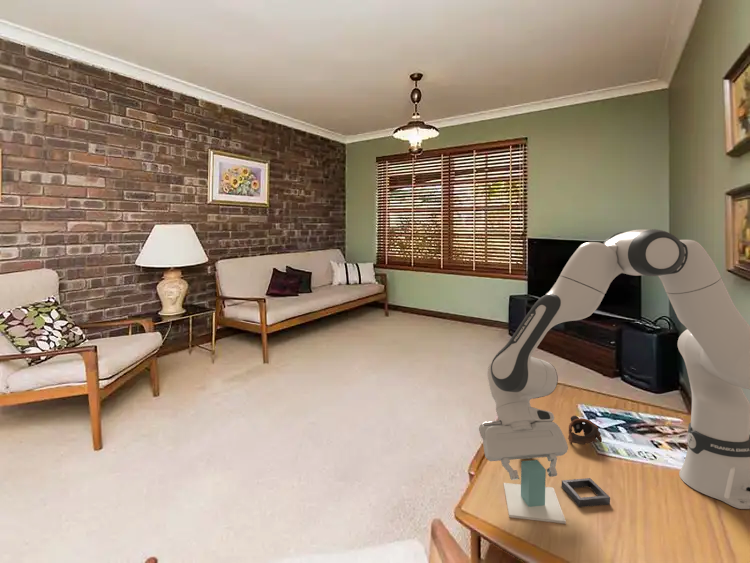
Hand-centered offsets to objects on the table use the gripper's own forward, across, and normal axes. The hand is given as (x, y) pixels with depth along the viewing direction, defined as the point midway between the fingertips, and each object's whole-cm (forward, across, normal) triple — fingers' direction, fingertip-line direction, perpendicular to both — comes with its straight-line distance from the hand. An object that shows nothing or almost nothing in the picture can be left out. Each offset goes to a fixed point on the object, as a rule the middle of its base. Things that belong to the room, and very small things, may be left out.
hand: (534, 477), depth 94 cm
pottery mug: (-13, +29, +24) cm, 40 cm away
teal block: (+4, 0, +5) cm, 6 cm away
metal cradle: (+4, +14, +6) cm, 16 cm away
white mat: (+4, 0, +5) cm, 7 cm away
